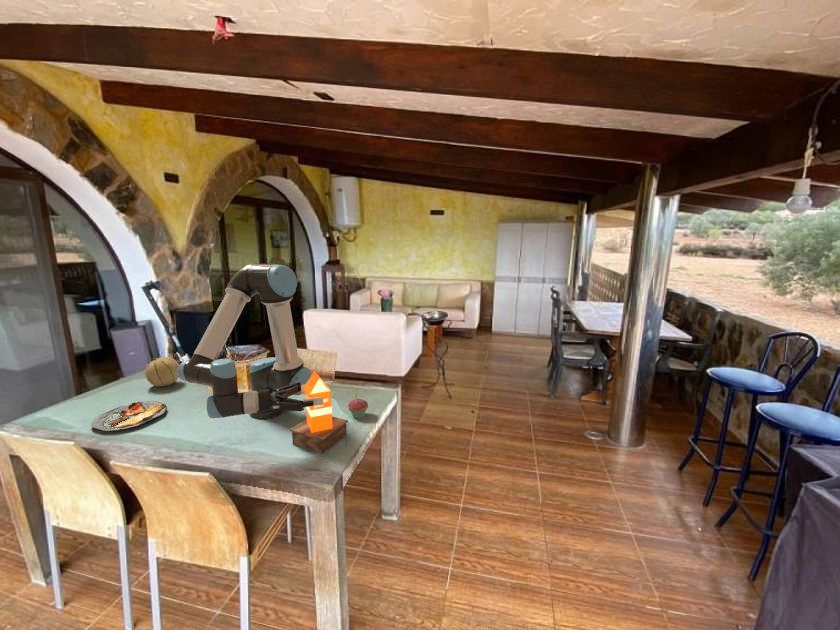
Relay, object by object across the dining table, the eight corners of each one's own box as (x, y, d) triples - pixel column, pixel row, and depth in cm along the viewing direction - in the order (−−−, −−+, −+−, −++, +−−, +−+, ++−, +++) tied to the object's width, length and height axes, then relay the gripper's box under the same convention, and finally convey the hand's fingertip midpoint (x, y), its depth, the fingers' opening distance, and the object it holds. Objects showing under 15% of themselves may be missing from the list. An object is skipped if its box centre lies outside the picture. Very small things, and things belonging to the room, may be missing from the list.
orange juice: (327, 417, 148) (324, 368, 144) (332, 428, 141) (330, 376, 136) (306, 422, 145) (303, 372, 141) (311, 432, 137) (308, 380, 133)
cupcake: (364, 421, 158) (363, 394, 156) (344, 419, 160) (343, 392, 158) (370, 412, 167) (370, 386, 164) (352, 410, 168) (351, 384, 166)
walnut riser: (290, 444, 141) (289, 429, 139) (317, 426, 154) (317, 412, 153) (323, 454, 134) (322, 439, 133) (348, 434, 148) (348, 420, 146)
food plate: (142, 401, 174) (140, 394, 174) (180, 410, 167) (178, 402, 166) (79, 429, 152) (77, 420, 151) (119, 440, 144) (118, 431, 143)
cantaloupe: (186, 385, 194) (182, 356, 191) (152, 393, 183) (148, 363, 180) (176, 377, 204) (172, 350, 201) (143, 385, 193) (139, 357, 190)
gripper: (260, 397, 145) (317, 389, 153) (257, 428, 123) (325, 417, 130) (258, 378, 144) (316, 372, 151) (255, 406, 121) (324, 397, 128)
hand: (321, 393), depth 140 cm, fingers open, 13 cm apart
